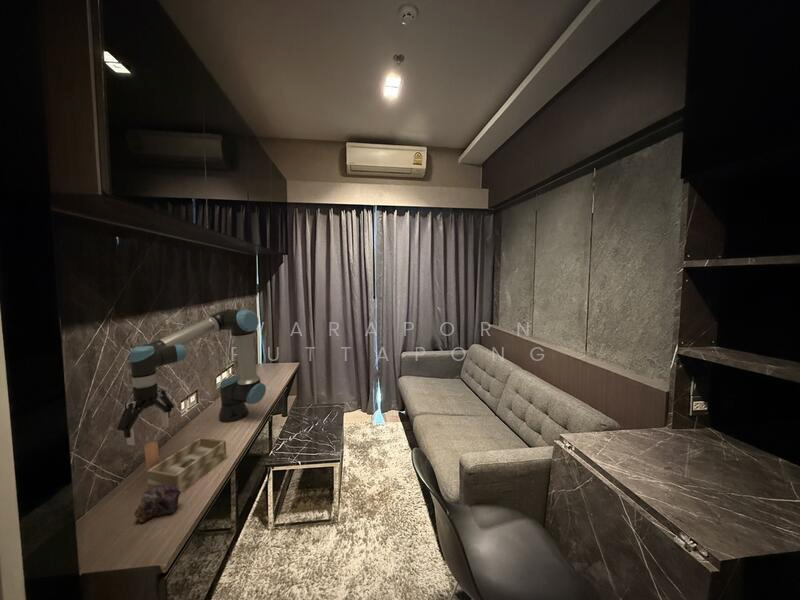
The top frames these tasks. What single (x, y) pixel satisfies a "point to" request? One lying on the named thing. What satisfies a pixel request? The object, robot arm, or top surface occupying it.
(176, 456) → the box
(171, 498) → the rock
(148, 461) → the peg
